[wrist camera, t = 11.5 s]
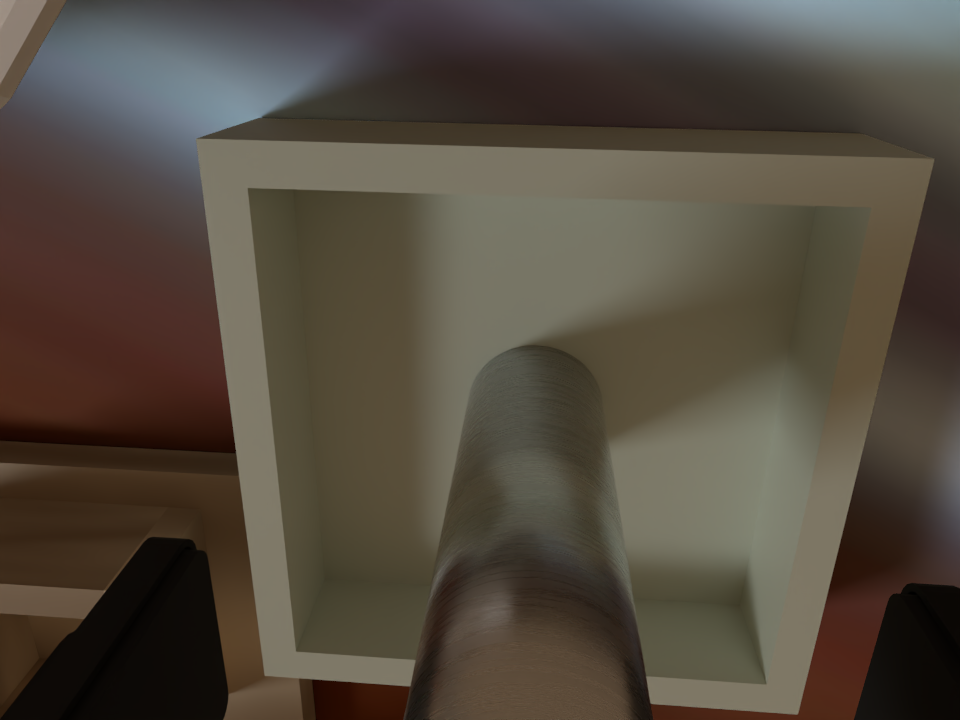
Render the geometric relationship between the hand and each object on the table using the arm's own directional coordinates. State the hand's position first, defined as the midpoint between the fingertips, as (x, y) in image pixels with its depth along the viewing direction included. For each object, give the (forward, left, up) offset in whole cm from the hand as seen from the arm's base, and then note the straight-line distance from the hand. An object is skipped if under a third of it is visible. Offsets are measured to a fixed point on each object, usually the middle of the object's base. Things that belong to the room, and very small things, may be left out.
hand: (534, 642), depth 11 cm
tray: (0, 0, -8) cm, 8 cm away
